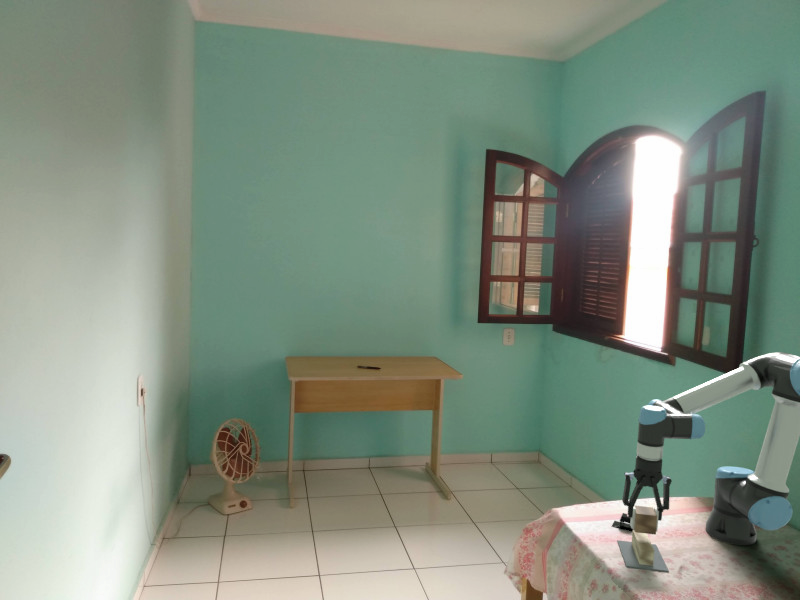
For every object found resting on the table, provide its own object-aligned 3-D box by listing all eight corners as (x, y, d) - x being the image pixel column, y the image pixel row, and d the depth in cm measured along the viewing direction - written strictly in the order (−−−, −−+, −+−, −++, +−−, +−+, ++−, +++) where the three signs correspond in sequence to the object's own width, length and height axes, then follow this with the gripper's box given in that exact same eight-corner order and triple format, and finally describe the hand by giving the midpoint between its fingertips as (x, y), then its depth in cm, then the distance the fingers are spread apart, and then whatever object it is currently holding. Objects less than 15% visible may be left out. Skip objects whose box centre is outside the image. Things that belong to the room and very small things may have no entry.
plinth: (644, 546, 197) (645, 531, 196) (653, 565, 185) (654, 549, 184) (631, 544, 197) (632, 529, 197) (639, 564, 186) (640, 548, 185)
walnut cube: (651, 525, 193) (652, 507, 192) (655, 534, 187) (657, 515, 186) (631, 523, 194) (632, 505, 193) (635, 532, 188) (636, 513, 187)
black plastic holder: (647, 529, 210) (648, 516, 210) (644, 538, 204) (645, 525, 204) (610, 520, 217) (611, 507, 216) (605, 528, 210) (606, 515, 210)
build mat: (656, 545, 198) (656, 544, 198) (668, 572, 182) (668, 570, 182) (617, 541, 200) (617, 540, 200) (626, 567, 184) (626, 565, 184)
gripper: (678, 455, 190) (672, 526, 192) (615, 449, 193) (609, 519, 196) (685, 463, 183) (679, 537, 185) (619, 457, 186) (613, 530, 188)
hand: (643, 528), depth 190 cm, fingers closed on walnut cube, 6 cm apart
